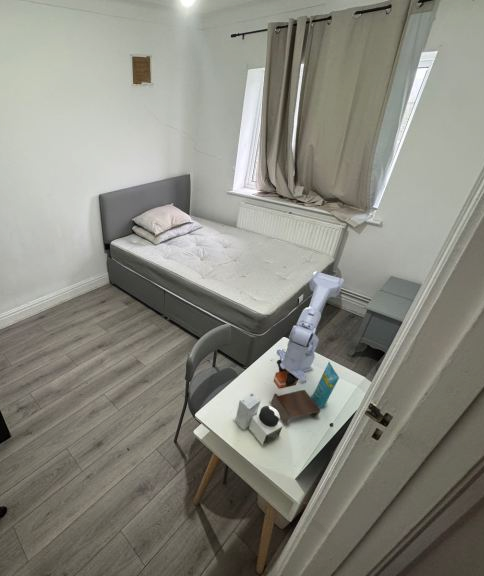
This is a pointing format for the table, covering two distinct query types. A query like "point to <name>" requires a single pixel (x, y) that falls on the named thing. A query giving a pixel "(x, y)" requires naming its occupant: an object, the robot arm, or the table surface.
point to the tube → (325, 386)
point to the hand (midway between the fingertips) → (285, 380)
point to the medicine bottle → (266, 425)
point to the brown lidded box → (294, 405)
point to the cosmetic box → (247, 410)
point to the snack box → (282, 379)
